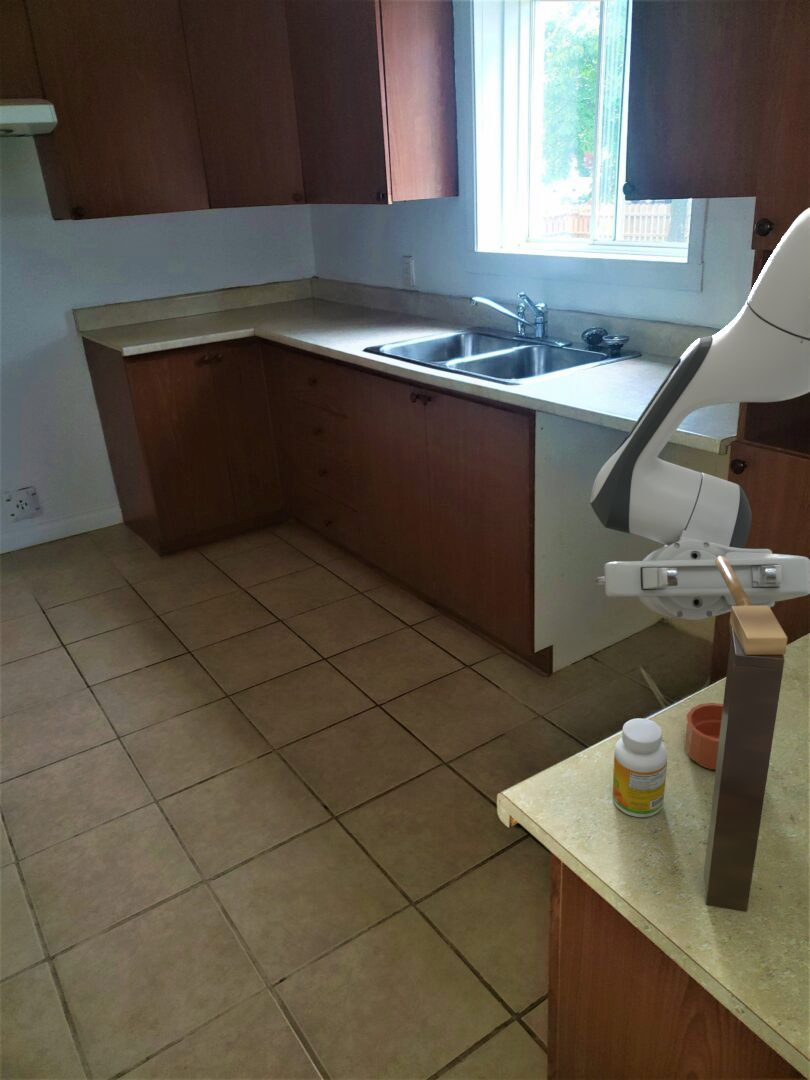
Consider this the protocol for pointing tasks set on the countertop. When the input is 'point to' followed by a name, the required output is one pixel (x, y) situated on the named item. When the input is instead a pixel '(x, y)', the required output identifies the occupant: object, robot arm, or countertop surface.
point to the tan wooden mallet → (752, 618)
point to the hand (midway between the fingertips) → (721, 575)
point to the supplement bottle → (640, 769)
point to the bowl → (703, 733)
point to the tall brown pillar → (741, 774)
